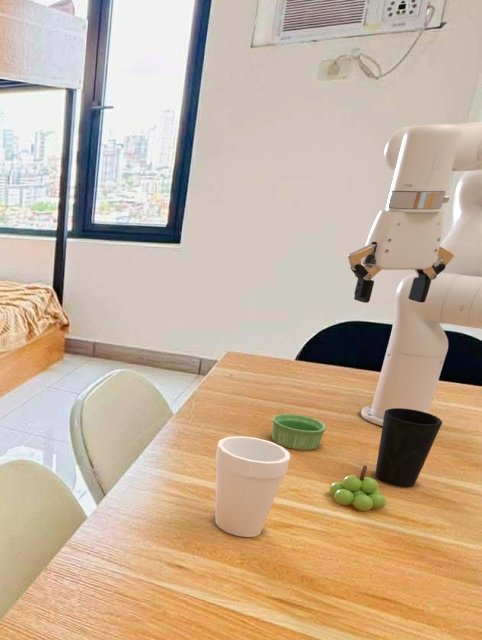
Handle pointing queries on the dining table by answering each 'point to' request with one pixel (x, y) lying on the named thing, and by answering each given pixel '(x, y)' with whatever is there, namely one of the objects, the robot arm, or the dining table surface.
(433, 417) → the cup
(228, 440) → the foam cup
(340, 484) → the grapes
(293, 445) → the ramekin
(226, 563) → the dining table surface
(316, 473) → the dining table surface
